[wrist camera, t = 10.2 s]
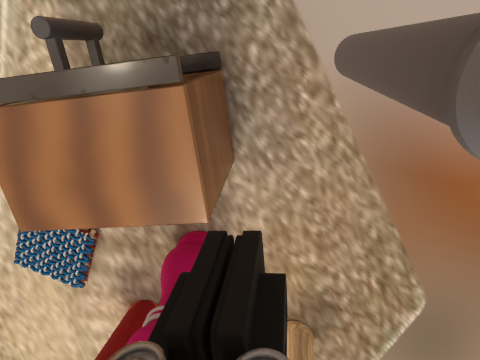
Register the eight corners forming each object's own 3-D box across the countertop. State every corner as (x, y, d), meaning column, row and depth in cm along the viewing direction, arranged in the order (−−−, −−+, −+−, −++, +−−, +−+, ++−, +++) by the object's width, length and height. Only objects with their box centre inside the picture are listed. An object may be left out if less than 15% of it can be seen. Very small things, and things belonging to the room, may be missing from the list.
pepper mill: (182, 219, 40) (100, 361, 22) (235, 239, 41) (198, 396, 22) (168, 261, 43) (85, 419, 25) (218, 280, 44) (172, 449, 25)
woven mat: (27, 197, 42) (15, 204, 40) (103, 229, 43) (94, 237, 41) (19, 256, 46) (8, 265, 44) (88, 284, 47) (80, 294, 45)
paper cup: (113, 307, 48) (51, 402, 35) (148, 286, 45) (96, 380, 33) (148, 340, 50) (102, 442, 37) (184, 322, 47) (148, 424, 34)
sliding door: (133, 24, 32) (47, 11, 20) (144, 73, 33) (71, 88, 22) (57, 35, 33) (-65, 30, 21) (71, 83, 35) (-34, 101, 23)
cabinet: (219, 51, 32) (176, 54, 19) (234, 161, 37) (207, 225, 24) (76, 70, 35) (-49, 84, 22) (106, 171, 39) (17, 233, 26)
